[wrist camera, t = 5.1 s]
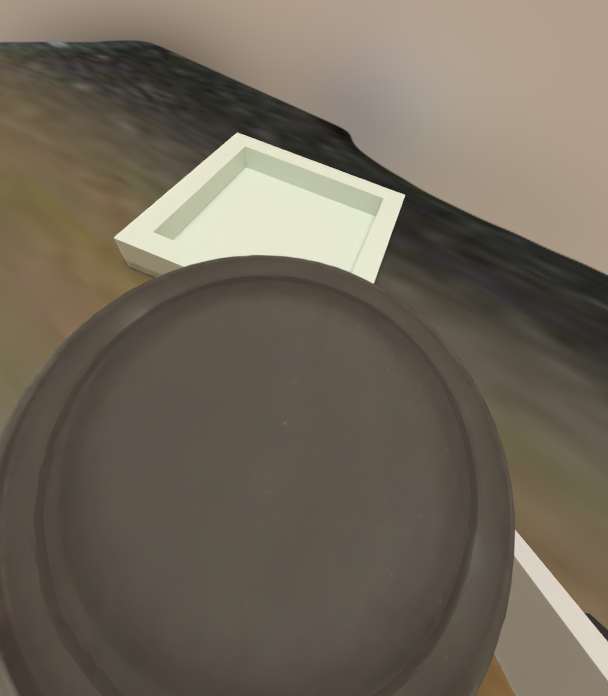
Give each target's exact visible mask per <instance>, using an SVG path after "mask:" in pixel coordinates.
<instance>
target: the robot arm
mask: <svg viewBox="0 0 608 696" xmlns="http://www.w3.org/2000/svg"><path fill="white" fill-rule="evenodd" d="M494 655H495V656H496V658H497V660H498V662H499V664H500V666H501V668H502V670H503V672H504V674H505V676H506V678H507V680H508V682H509V684H510V686H511V688H512V690H513V692H514V694H515V696H608V630H607V629H606V628H605V627H604V626H603V625H601V624H600V623H599V622H598V621H597V620H596V619H595V618H594V617H593V616H591V615H590V614H587V613H584V612H583V611H582V610H581V609H580V608H579V606H578V605H577V604H576V603H575V602H574V600H573V599H572V598H571V597H570V596H569V594H568V593H567V592H566V591H565V590H564V588H563V587H562V586H561V585H560V583H559V582H558V581H557V580H556V579H555V577H554V576H553V575H552V574H551V573H550V571H549V570H548V569H547V568H546V567H545V565H544V564H543V563H542V562H541V561H540V559H539V558H538V557H537V556H536V554H535V553H534V552H533V551H532V550H531V548H530V547H529V546H528V545H527V544H526V542H525V541H524V540H523V539H522V538H521V536H520V535H519V534H518V533H517V532H516V530H515V549H514V563H513V572H512V583H511V590H510V596H509V601H508V607H507V612H506V617H505V620H504V623H503V626H502V629H501V633H500V636H499V640H498V643H497V646H496V649H495V652H494Z"/></svg>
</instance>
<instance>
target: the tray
mask: <svg viewBox="0 0 608 696" xmlns="http://www.w3.org/2000/svg"><path fill="white" fill-rule="evenodd" d="M404 197H405V195H403V194H401V193H398V192H395V191H393V190H390V189H387V188H384V187H382V186H379V185H376V184H374V183H371V182H368V181H366V180H363V179H360V178H358V177H355V176H352V175H350V174H347V173H344V172H342V171H339V170H336V169H334V168H331V167H328V166H326V165H323V164H320V163H317V162H315V161H312V160H309V159H307V158H304V157H301V156H299V155H296V154H293V153H291V152H288V151H285V150H283V149H280V148H277V147H275V146H272V145H269V144H267V143H264V142H261V141H258V140H256V139H253V138H250V137H248V136H245V135H242V134H240V133H236V134H235V135H234V136H233V137H232V138H230V139H229V140H228V141H227V142H226V143H225V144H223V145H222V146H221V147H220V148H219V149H217V150H216V151H215V152H214V153H213V154H212V155H210V156H209V157H208V158H207V159H206V160H205V161H203V162H202V163H201V164H200V165H199V166H197V167H196V168H195V169H194V170H193V171H192V172H190V173H189V174H188V175H187V176H186V177H185V178H183V179H182V180H181V181H180V182H179V183H177V184H176V185H175V186H174V187H173V188H172V189H170V190H169V191H168V192H167V193H166V194H164V195H163V196H162V197H161V198H160V199H159V200H157V201H156V202H155V203H154V204H153V205H152V206H150V207H149V208H148V209H147V210H146V211H144V212H143V213H142V214H141V215H140V216H139V217H137V218H136V219H135V220H134V221H133V222H132V223H130V224H129V225H128V226H127V227H126V228H124V229H123V230H122V231H121V232H120V233H119V234H117V235H116V236H115V237H114V240H115V242H116V244H117V246H118V248H119V249H120V251H121V253H122V255H123V257H124V259H125V261H126V263H127V265H128V266H129V267H131V268H134V269H136V270H138V271H141V272H143V273H146V274H148V275H150V276H153V277H155V278H156V277H159V276H161V275H163V274H165V273H168V272H171V271H173V270H176V269H179V268H182V267H185V266H188V265H191V264H196V263H200V262H204V261H209V260H213V259H218V258H225V257H233V256H250V255H271V256H287V257H294V258H301V259H306V260H311V261H316V262H320V263H324V264H327V265H331V266H335V267H337V268H340V269H343V270H346V271H348V272H350V273H353V274H355V275H357V276H359V277H361V278H363V279H365V280H367V281H369V282H371V283H373V284H374V281H375V279H376V276H377V273H378V270H379V267H380V264H381V262H382V259H383V256H384V253H385V250H386V248H387V245H388V242H389V239H390V236H391V233H392V231H393V228H394V225H395V222H396V219H397V217H398V214H399V211H400V208H401V205H402V202H403V200H404Z"/></svg>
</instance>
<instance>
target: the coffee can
mask: <svg viewBox="0 0 608 696" xmlns="http://www.w3.org/2000/svg"><path fill="white" fill-rule="evenodd" d="M514 549H515V510H514V501H513V492H512V486H511V481H510V475H509V470H508V466H507V461H506V456H505V452H504V449H503V446H502V443H501V440H500V437H499V434H498V431H497V428H496V425H495V423H494V420H493V418H492V416H491V413H490V411H489V409H488V407H487V405H486V403H485V401H484V399H483V397H482V395H481V393H480V391H479V389H478V387H477V386H476V384H475V382H474V380H473V379H472V377H471V375H470V374H469V372H468V370H467V369H466V367H465V366H464V364H463V363H462V361H461V360H460V358H459V357H458V356H457V354H456V353H455V352H454V350H453V349H452V348H451V346H450V345H449V344H448V343H447V342H446V340H445V339H444V338H443V337H442V336H441V335H440V334H439V333H438V332H437V331H436V330H435V329H434V328H433V327H432V326H431V325H430V324H429V323H428V322H427V321H426V320H425V319H424V318H422V317H421V316H420V315H419V314H418V313H417V312H416V311H414V310H413V309H411V308H410V307H409V306H407V305H406V304H405V303H404V302H402V301H401V300H400V299H398V298H397V297H395V296H394V295H392V294H390V293H389V292H387V291H385V290H384V289H382V288H380V287H379V286H377V285H375V284H373V283H371V282H369V281H367V280H365V279H363V278H361V277H359V276H357V275H355V274H353V273H350V272H348V271H346V270H343V269H340V268H337V267H335V266H331V265H327V264H324V263H320V262H316V261H311V260H306V259H301V258H294V257H287V256H271V255H250V256H233V257H225V258H218V259H213V260H209V261H204V262H200V263H196V264H191V265H188V266H185V267H182V268H179V269H176V270H173V271H171V272H168V273H165V274H163V275H161V276H159V277H156V278H154V279H152V280H150V281H148V282H146V283H144V284H142V285H140V286H138V287H136V288H134V289H132V290H130V291H128V292H126V293H124V294H123V295H121V296H120V297H118V298H117V299H116V300H114V301H113V302H111V303H110V304H108V305H107V306H105V307H104V308H103V309H101V310H100V311H98V312H97V313H96V314H95V315H93V316H92V317H91V318H90V319H89V320H88V321H87V322H85V323H84V324H83V325H81V326H80V327H79V328H78V329H77V330H76V331H75V332H74V333H73V334H71V335H70V336H69V337H68V338H67V339H66V340H65V341H64V342H63V343H62V344H61V345H60V346H59V347H58V348H57V349H56V351H55V352H54V353H53V354H52V355H51V357H50V358H49V359H48V360H47V361H46V362H45V364H44V365H43V366H42V367H41V369H40V370H39V371H38V373H37V374H36V375H35V377H34V378H33V380H32V381H31V382H30V384H29V385H28V387H27V388H26V390H25V391H24V393H23V394H22V396H21V397H20V399H19V401H18V403H17V404H16V406H15V408H14V410H13V412H12V415H11V416H10V418H9V419H8V421H7V423H6V426H5V428H4V430H3V432H2V434H1V436H0V696H476V695H477V693H478V690H479V688H480V686H481V683H482V681H483V679H484V677H485V674H486V672H487V670H488V668H489V665H490V663H491V660H492V657H493V654H494V652H495V649H496V646H497V643H498V640H499V636H500V633H501V629H502V626H503V623H504V620H505V617H506V612H507V607H508V601H509V596H510V590H511V583H512V572H513V563H514Z"/></svg>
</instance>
